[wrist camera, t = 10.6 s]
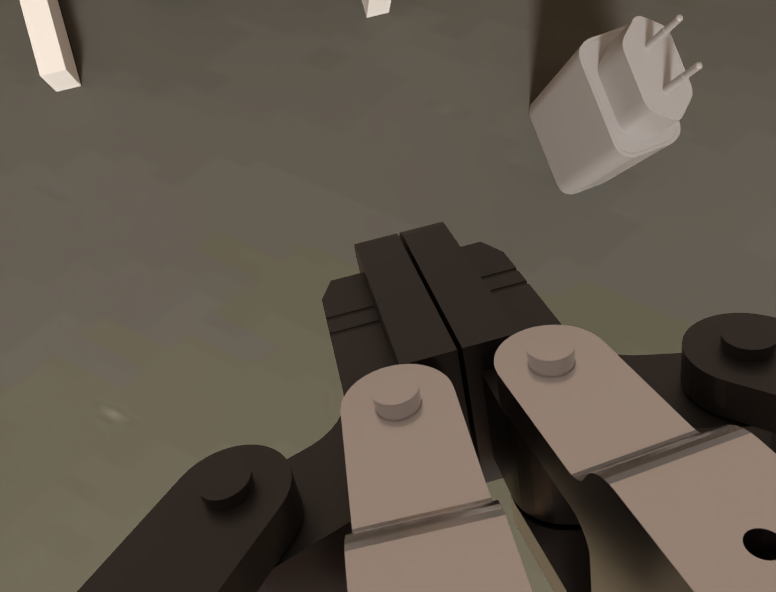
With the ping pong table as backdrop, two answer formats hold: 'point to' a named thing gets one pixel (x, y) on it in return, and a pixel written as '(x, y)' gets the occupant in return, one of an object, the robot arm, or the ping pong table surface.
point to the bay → (55, 45)
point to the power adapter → (612, 104)
